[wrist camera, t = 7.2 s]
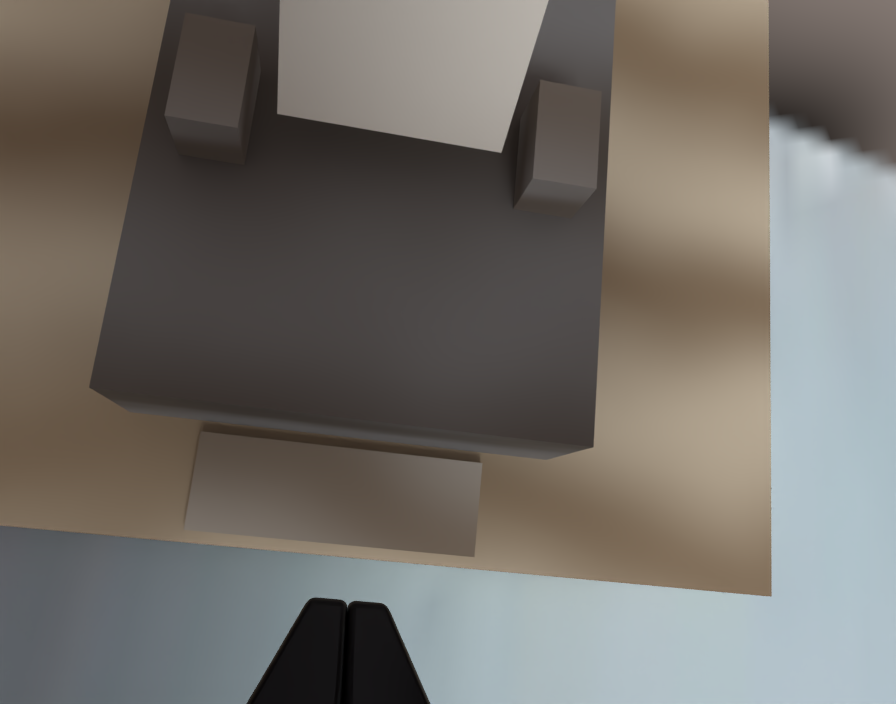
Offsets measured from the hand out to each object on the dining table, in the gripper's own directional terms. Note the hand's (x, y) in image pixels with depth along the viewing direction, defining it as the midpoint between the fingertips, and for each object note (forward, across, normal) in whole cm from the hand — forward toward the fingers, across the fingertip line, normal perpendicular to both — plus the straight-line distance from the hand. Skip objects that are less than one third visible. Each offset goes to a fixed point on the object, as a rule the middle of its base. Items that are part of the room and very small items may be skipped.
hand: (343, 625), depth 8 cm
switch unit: (+12, 0, 0) cm, 12 cm away
